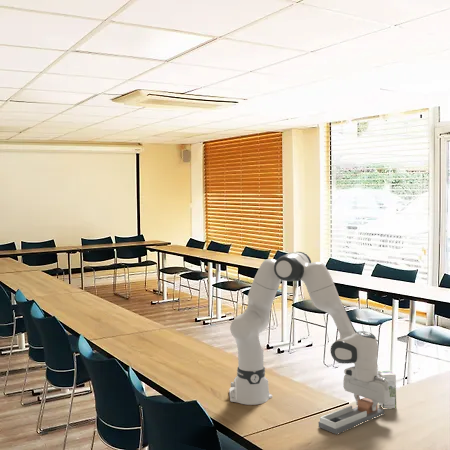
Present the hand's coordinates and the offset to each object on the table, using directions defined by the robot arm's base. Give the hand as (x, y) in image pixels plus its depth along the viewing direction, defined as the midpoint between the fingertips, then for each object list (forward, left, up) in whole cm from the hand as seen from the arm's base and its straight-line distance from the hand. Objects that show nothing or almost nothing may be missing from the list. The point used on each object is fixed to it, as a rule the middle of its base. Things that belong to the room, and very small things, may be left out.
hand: (366, 407), depth 226 cm
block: (0, +1, -1) cm, 1 cm away
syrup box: (-5, +12, -3) cm, 14 cm away
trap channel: (+4, -8, -3) cm, 9 cm away
